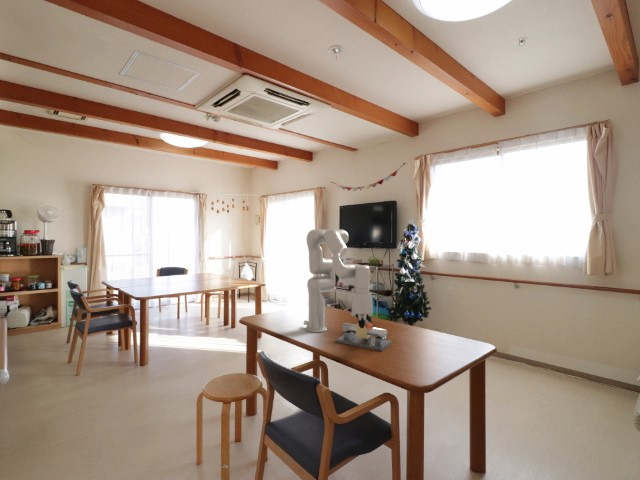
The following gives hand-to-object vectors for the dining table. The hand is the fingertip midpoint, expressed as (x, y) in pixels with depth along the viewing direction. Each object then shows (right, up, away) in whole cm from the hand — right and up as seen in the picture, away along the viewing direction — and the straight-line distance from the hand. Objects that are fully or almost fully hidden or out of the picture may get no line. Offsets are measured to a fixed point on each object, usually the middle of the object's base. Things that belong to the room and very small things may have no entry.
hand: (361, 327), depth 167 cm
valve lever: (+3, -1, +4) cm, 5 cm away
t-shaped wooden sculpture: (+9, -11, +41) cm, 43 cm away
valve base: (+3, -11, +10) cm, 15 cm away
